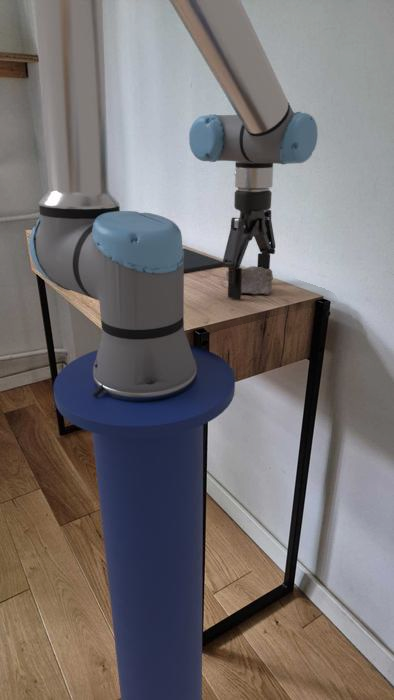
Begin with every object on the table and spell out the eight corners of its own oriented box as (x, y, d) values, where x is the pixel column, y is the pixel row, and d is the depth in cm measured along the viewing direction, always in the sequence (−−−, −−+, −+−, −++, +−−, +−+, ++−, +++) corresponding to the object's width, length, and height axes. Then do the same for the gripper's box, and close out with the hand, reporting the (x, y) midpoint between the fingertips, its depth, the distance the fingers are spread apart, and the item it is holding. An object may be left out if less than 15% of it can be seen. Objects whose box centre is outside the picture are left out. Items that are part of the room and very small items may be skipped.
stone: (274, 287, 110) (276, 262, 107) (268, 298, 103) (270, 271, 100) (232, 284, 112) (233, 259, 110) (223, 294, 105) (224, 268, 103)
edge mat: (224, 266, 127) (224, 262, 127) (179, 273, 120) (179, 269, 120) (184, 251, 143) (184, 248, 142) (142, 257, 136) (142, 254, 135)
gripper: (263, 182, 110) (258, 274, 118) (205, 194, 91) (205, 302, 99) (294, 184, 106) (287, 278, 115) (240, 197, 87) (237, 308, 96)
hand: (249, 289), depth 107 cm, fingers open, 13 cm apart
